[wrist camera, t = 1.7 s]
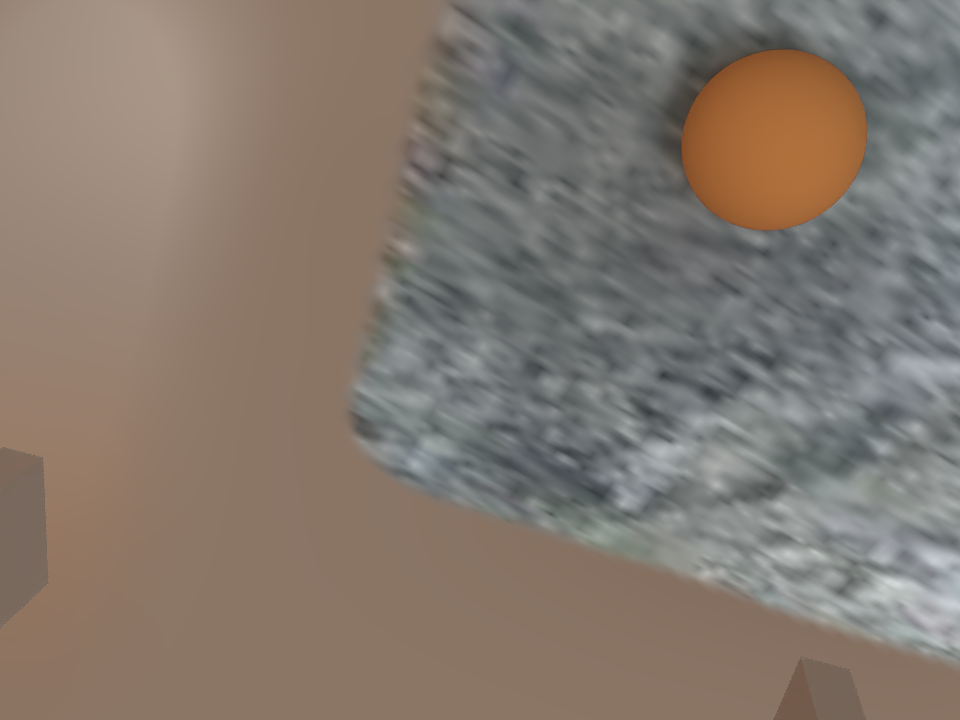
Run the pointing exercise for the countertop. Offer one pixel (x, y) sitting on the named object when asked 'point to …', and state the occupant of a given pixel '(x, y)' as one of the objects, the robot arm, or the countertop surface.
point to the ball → (774, 139)
